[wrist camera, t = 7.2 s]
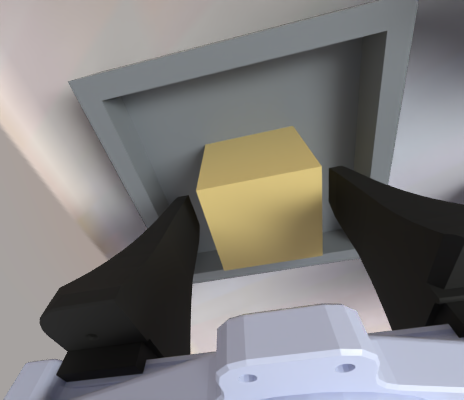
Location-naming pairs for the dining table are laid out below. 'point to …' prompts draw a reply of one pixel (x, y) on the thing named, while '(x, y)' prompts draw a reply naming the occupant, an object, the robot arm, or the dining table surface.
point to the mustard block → (262, 198)
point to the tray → (258, 111)
